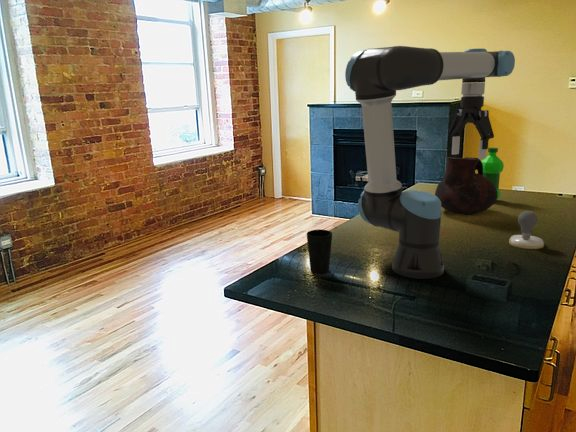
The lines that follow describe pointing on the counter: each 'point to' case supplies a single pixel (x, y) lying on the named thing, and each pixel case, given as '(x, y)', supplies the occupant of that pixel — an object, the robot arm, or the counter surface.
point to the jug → (465, 187)
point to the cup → (319, 250)
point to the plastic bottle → (493, 168)
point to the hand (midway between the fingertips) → (468, 156)
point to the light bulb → (527, 223)
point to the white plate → (526, 242)
